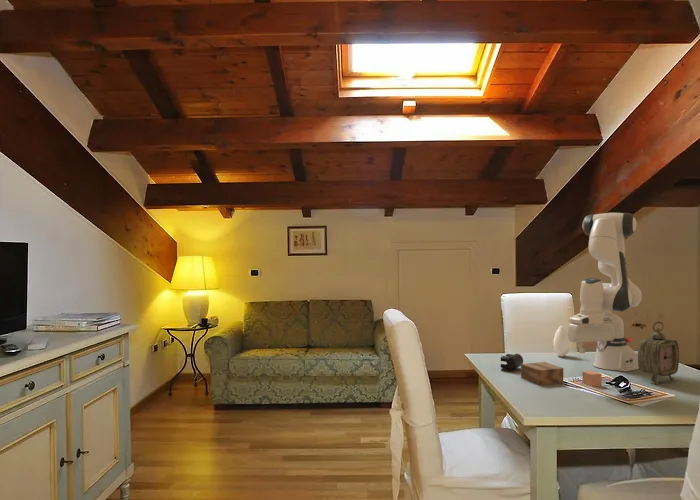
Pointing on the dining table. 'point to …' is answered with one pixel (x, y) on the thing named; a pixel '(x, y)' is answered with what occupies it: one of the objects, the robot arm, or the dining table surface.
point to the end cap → (511, 362)
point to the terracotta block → (592, 378)
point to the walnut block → (542, 373)
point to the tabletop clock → (658, 355)
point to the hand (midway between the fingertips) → (591, 352)
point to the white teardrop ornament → (561, 341)
